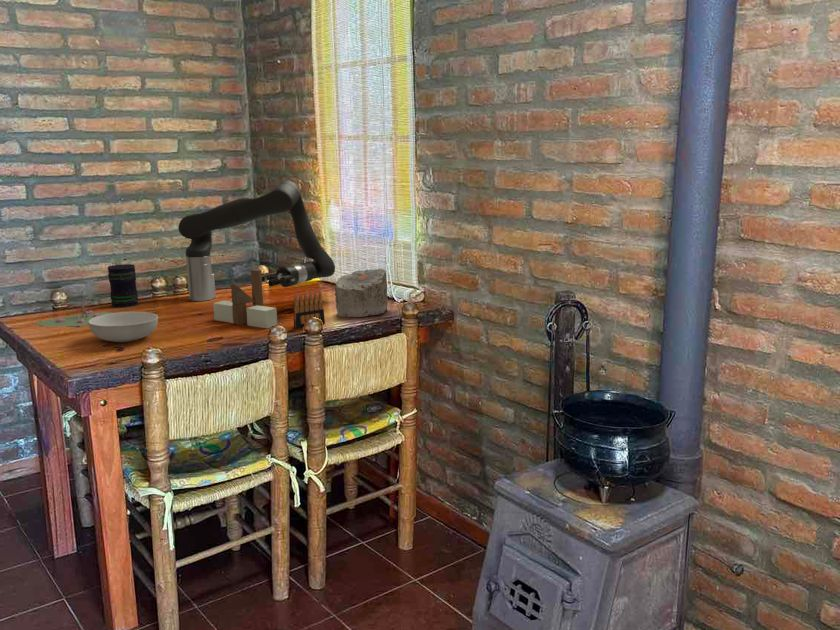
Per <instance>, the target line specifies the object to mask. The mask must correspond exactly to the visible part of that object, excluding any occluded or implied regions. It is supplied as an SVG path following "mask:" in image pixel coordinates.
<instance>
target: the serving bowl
mask: <svg viewBox="0 0 840 630" xmlns="http://www.w3.org/2000/svg"><path fill="white" fill-rule="evenodd" d="M110 313H111V314H105V315H100V316H97V317H94V318H92V319H90V320H89V321H88V324H89V325H88V327H89V330H90V332H91V333H92V334H93V336H95V337H97V338H98V339H100V340H104V341H107V342H113V343H130V342H134V341H138V340H140V339H143V338H145V337H148V336H149V335H151V334H152V333H153V332H154V331H155V330H156V328H157V327H158V323H159V316H158V314H156V313H153V312H147V311H120V312H110Z"/></svg>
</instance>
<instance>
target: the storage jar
mask: <svg viewBox="0 0 840 630" xmlns="http://www.w3.org/2000/svg"><path fill="white" fill-rule="evenodd" d="M123 261H127V258H123ZM107 273H108V274H107V277H108V281H109V286H110V293H109V294H110V302H111V307H112V308H117V309H118V308H123V309H124V308H131V307H135V306H138V305H139V299H138V298H139V295H138V289H137V283H136V280H137V274H136V266H135V264H130V263H129V264H125V263H124V264H114V265H109V266H108V267H107Z"/></svg>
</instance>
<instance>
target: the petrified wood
mask: <svg viewBox="0 0 840 630" xmlns="http://www.w3.org/2000/svg"><path fill="white" fill-rule="evenodd" d="M387 282H388V281H387V270H385V269H383V268H378V269H366V270H360V269H359V270H355V271H354V272H352V273H349V274H347V275H342V276H340V277H339V278H338V279H337V281H336V283H335V287H334V291H335V293H334V296H335V299H334V300H335V308H336V314H337V315H338V317H341V318H363V317H371V316H378V315H381V314H382V315H383V314H385V312H386V311H387V310H388V304H389V303H388V283H387Z"/></svg>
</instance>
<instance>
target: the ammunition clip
mask: <svg viewBox="0 0 840 630" xmlns="http://www.w3.org/2000/svg"><path fill="white" fill-rule="evenodd" d="M322 293H323V292H322V290H321V288H319V289H318V293H317V290H316V289H314V290H313V292H312V290H311V289H310V290H309V292H308V293H307V291H306V290H305V291H304V295H303V293H302V291H300V292H299V294H298V293H297V292H296V291H295V292H294V296H293V297H294V298H293V300H294V301H293V328H295V329H299V328H301V329H302V328H305V327H304V322H305V321H306V320H307V319H308V318H311V317H316V318H319V319H321V320H322V322H323V324H322V325H325V324H326V319H325V309H324V302H323V301H324V300H323V295H322ZM298 295H299V296H298Z"/></svg>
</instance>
